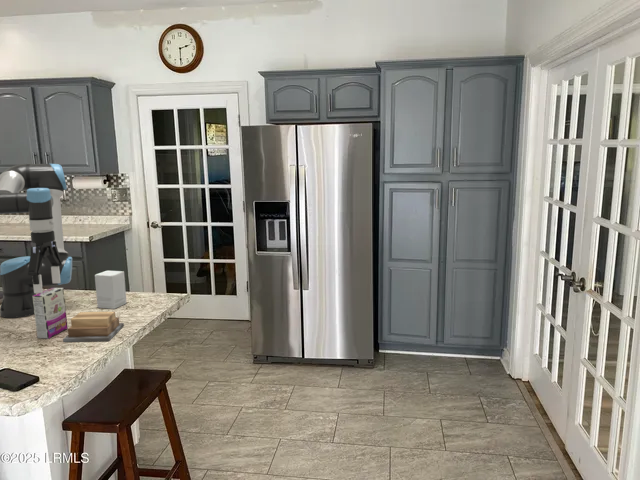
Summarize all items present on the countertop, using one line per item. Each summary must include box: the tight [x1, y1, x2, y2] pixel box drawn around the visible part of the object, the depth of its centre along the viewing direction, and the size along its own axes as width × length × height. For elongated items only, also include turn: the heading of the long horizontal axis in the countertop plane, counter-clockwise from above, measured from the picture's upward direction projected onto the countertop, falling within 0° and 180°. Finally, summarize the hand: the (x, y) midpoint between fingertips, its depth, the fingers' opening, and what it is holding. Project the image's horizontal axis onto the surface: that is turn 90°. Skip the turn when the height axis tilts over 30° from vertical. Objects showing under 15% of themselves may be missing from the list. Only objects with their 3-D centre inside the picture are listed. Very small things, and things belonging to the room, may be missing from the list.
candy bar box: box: [32, 287, 69, 340], centre depth 185 cm, size 11×5×16 cm, turn 171°
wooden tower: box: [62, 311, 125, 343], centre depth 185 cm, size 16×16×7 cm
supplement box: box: [94, 270, 127, 310], centre depth 219 cm, size 9×9×15 cm
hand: (47, 287), depth 183 cm, fingers open, 13 cm apart
